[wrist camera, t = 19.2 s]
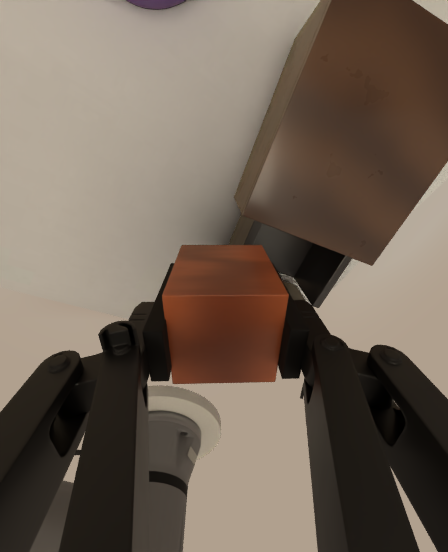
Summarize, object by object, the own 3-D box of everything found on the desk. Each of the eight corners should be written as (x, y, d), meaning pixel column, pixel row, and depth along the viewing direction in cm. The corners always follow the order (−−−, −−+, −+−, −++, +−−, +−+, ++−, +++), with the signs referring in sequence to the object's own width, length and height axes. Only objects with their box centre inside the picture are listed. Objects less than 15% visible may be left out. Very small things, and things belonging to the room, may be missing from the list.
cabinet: (326, 234, 29) (372, 266, 21) (233, 197, 27) (242, 215, 18) (405, 101, 23) (514, 68, 15) (294, 38, 21) (349, -43, 12)
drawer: (268, 331, 35) (281, 375, 28) (195, 310, 33) (190, 351, 26) (348, 195, 26) (396, 208, 20) (257, 154, 24) (274, 153, 17)
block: (186, 311, 17) (172, 384, 11) (181, 244, 14) (161, 295, 9) (256, 311, 17) (275, 382, 11) (262, 244, 15) (289, 294, 9)
